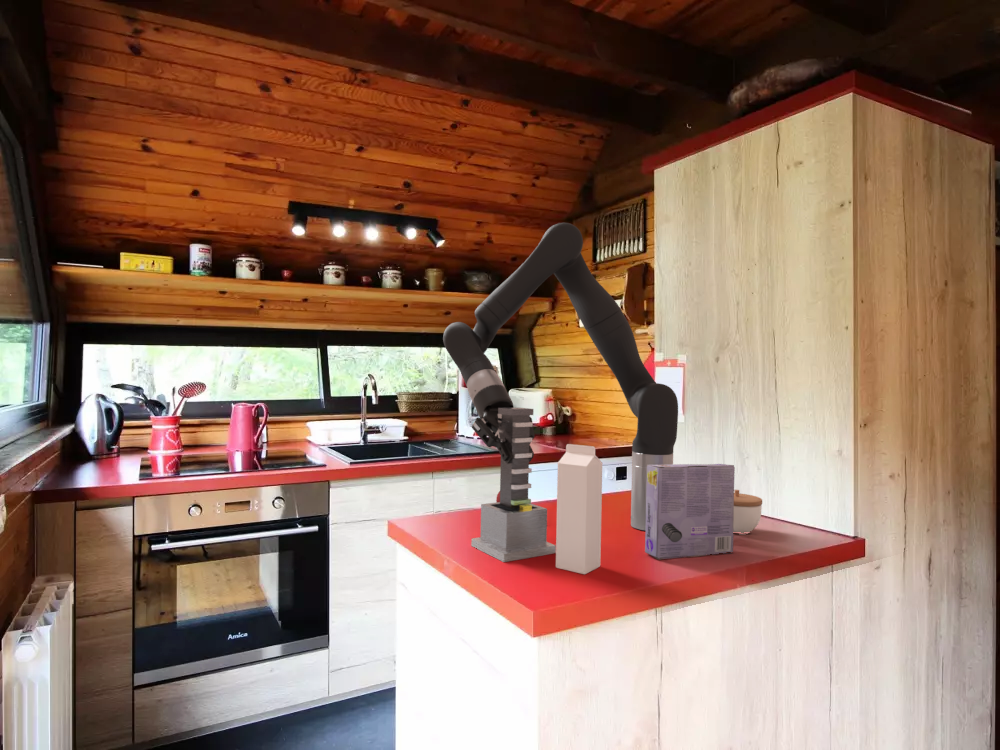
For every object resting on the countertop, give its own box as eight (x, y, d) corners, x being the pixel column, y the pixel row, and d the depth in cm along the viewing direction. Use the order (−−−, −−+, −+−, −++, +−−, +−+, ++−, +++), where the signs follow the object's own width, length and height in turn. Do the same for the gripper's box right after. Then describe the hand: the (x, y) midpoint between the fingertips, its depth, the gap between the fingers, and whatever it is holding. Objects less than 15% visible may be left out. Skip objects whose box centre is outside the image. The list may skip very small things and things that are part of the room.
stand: (520, 538, 128) (521, 493, 128) (555, 553, 117) (556, 504, 118) (471, 545, 121) (472, 498, 121) (503, 562, 111) (504, 510, 111)
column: (517, 502, 123) (519, 407, 123) (532, 507, 118) (534, 409, 118) (496, 504, 120) (498, 407, 120) (511, 509, 115) (513, 409, 116)
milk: (571, 560, 113) (574, 442, 114) (601, 566, 110) (603, 445, 110) (554, 568, 108) (557, 444, 109) (584, 575, 105) (587, 447, 105)
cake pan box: (721, 546, 125) (723, 460, 125) (739, 553, 120) (741, 464, 120) (642, 554, 118) (644, 463, 118) (657, 561, 114) (659, 467, 114)
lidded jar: (763, 529, 140) (764, 488, 140) (759, 539, 131) (760, 496, 131) (714, 523, 145) (715, 484, 145) (707, 533, 136) (708, 491, 136)
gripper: (466, 383, 122) (497, 450, 112) (524, 383, 130) (558, 446, 119) (453, 407, 126) (482, 474, 116) (510, 407, 134) (541, 469, 124)
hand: (520, 459), depth 118 cm, fingers closed on column, 4 cm apart
